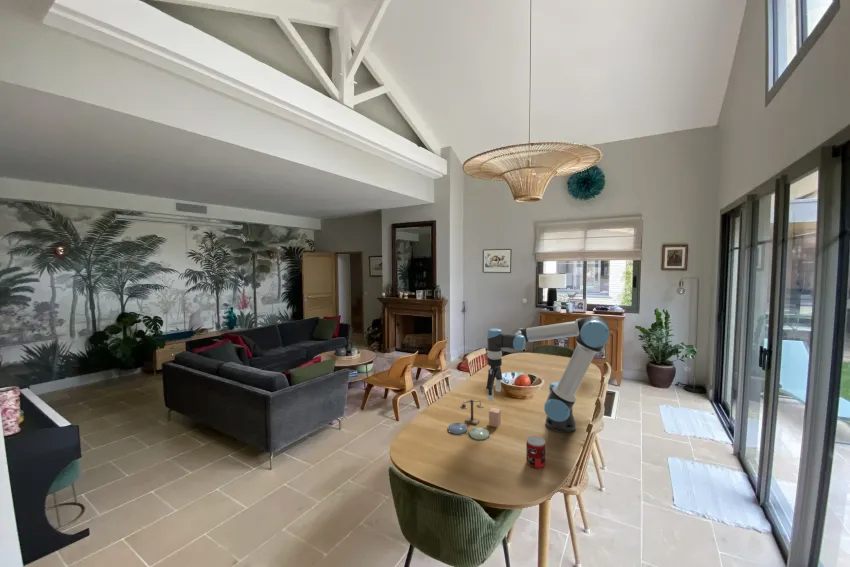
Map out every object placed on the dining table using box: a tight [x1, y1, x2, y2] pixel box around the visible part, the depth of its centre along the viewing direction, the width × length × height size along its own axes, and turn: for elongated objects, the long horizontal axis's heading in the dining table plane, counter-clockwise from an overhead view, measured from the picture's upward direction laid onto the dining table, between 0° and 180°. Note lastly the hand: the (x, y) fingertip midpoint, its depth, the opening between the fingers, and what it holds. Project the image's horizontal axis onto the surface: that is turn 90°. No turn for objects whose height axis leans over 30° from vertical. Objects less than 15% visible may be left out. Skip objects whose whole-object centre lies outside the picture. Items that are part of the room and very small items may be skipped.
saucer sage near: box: [468, 427, 490, 441], centre depth 182 cm, size 10×10×1 cm
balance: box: [459, 399, 485, 426], centre depth 195 cm, size 14×4×14 cm, turn 62°
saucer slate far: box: [447, 422, 468, 435], centre depth 188 cm, size 10×10×1 cm
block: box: [488, 407, 502, 428], centre depth 192 cm, size 5×5×8 cm
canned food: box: [525, 435, 546, 470], centre depth 156 cm, size 8×8×11 cm
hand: (494, 395), depth 191 cm, fingers open, 13 cm apart
